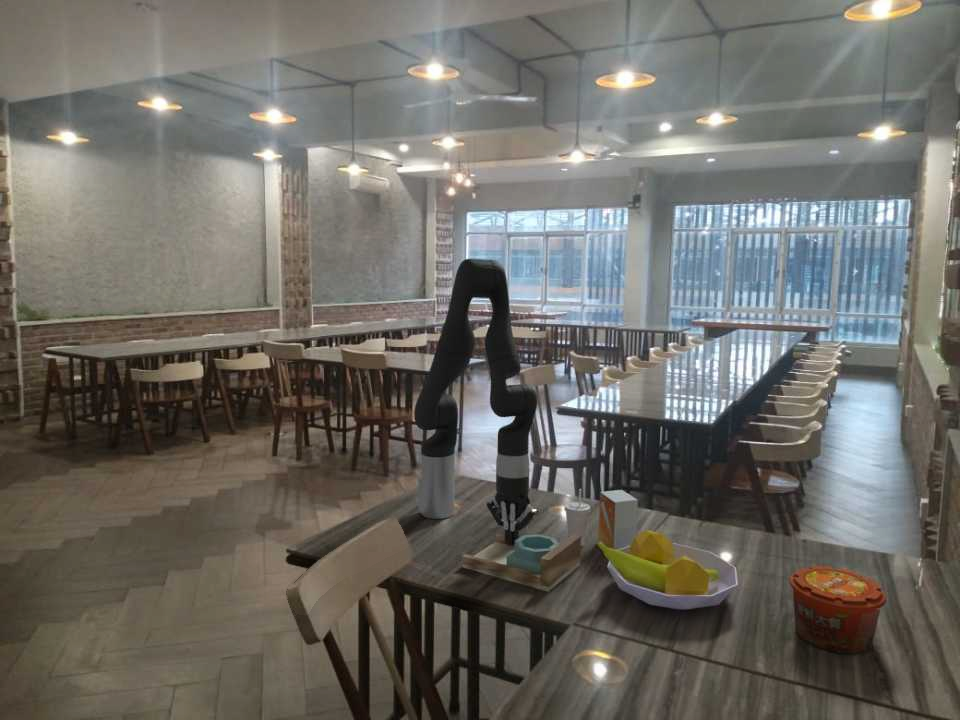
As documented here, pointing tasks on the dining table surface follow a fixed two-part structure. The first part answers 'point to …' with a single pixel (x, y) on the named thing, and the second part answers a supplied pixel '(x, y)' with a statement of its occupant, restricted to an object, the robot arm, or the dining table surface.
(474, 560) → the wooden tray
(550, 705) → the dining table surface
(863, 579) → the food container
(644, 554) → the fruit bowl
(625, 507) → the small box
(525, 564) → the tray
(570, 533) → the smoothie
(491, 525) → the dining table surface
